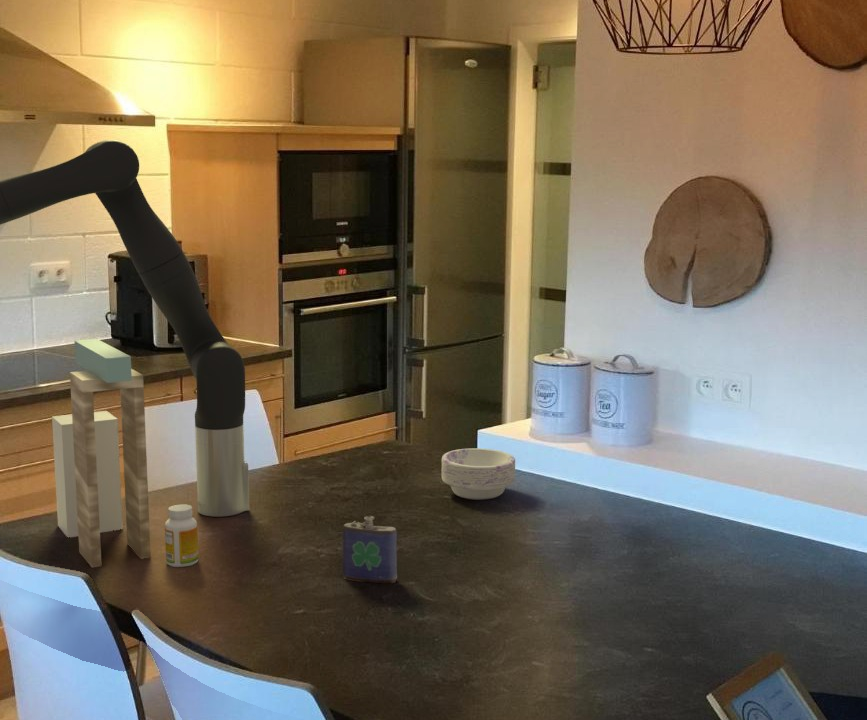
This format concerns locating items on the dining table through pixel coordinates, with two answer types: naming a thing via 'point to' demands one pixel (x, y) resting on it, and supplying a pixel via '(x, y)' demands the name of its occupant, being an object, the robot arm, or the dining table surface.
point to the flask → (369, 552)
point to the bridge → (132, 456)
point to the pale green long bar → (103, 360)
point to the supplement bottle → (181, 537)
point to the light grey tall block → (105, 473)
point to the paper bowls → (478, 472)
